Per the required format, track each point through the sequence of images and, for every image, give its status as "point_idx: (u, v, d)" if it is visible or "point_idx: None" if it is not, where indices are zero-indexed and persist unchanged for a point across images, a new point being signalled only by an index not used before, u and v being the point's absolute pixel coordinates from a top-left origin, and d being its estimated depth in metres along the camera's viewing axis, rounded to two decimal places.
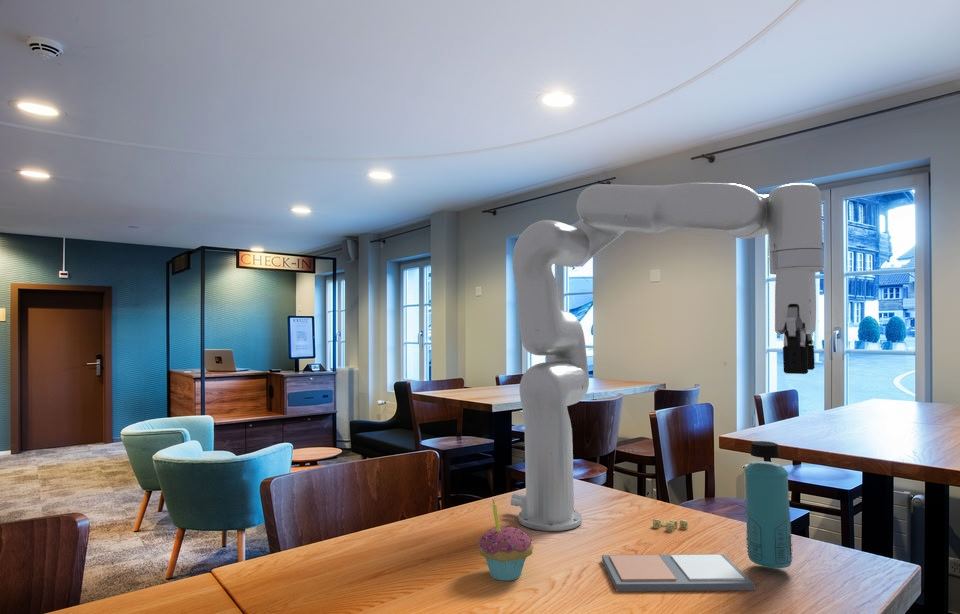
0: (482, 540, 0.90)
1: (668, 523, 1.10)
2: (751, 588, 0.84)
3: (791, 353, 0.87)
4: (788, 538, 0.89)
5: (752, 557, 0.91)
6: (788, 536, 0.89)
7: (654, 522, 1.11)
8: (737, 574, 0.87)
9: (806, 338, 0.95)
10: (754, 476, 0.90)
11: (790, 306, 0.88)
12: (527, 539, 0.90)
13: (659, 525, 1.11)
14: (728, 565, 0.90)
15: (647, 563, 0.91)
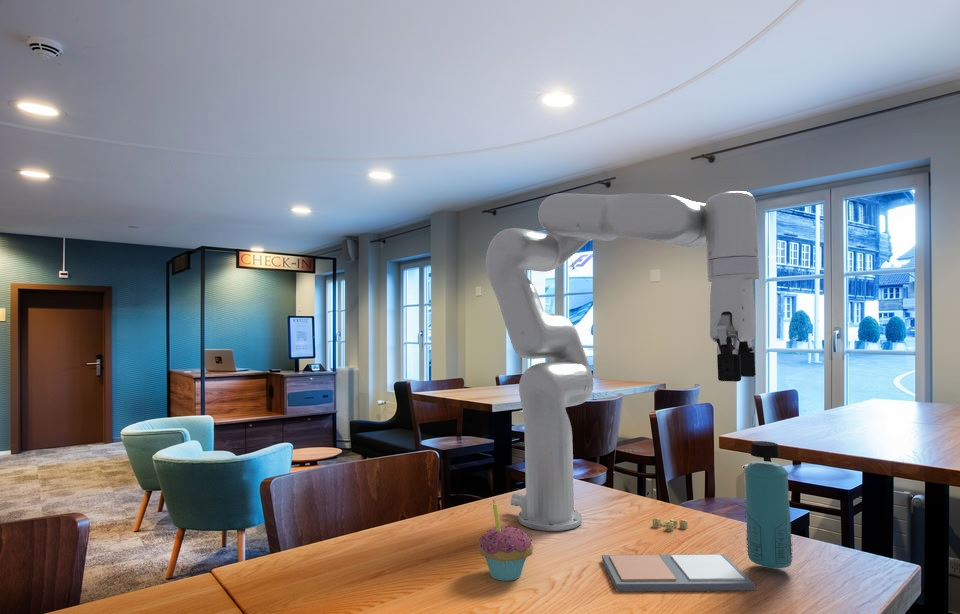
0: (482, 540, 0.90)
1: (667, 522, 1.10)
2: (751, 588, 0.84)
3: (724, 360, 0.87)
4: (788, 538, 0.89)
5: (752, 557, 0.91)
6: (788, 536, 0.89)
7: (654, 521, 1.12)
8: (737, 574, 0.87)
9: (747, 345, 0.96)
10: (754, 476, 0.90)
11: (723, 314, 0.88)
12: (527, 539, 0.90)
13: (659, 524, 1.12)
14: (728, 565, 0.90)
15: (647, 563, 0.91)
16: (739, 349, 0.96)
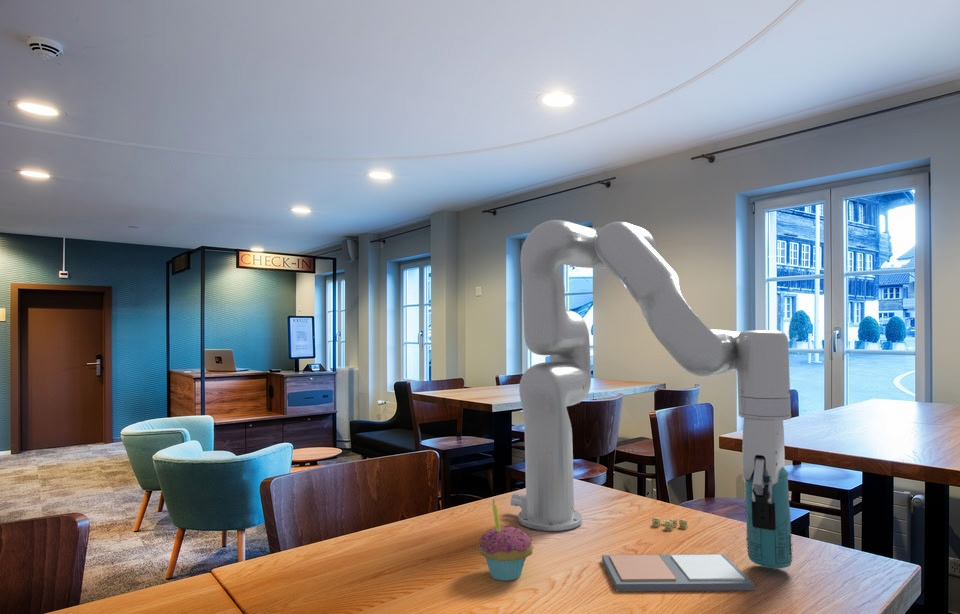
0: (482, 540, 0.90)
1: (667, 522, 1.10)
2: (751, 588, 0.84)
3: (759, 508, 0.88)
4: (788, 538, 0.89)
5: (752, 557, 0.91)
6: (788, 536, 0.89)
7: (653, 521, 1.12)
8: (737, 574, 0.87)
9: None
10: None
11: (757, 460, 0.88)
12: (527, 539, 0.90)
13: (658, 524, 1.12)
14: (728, 565, 0.90)
15: (647, 563, 0.91)
16: None
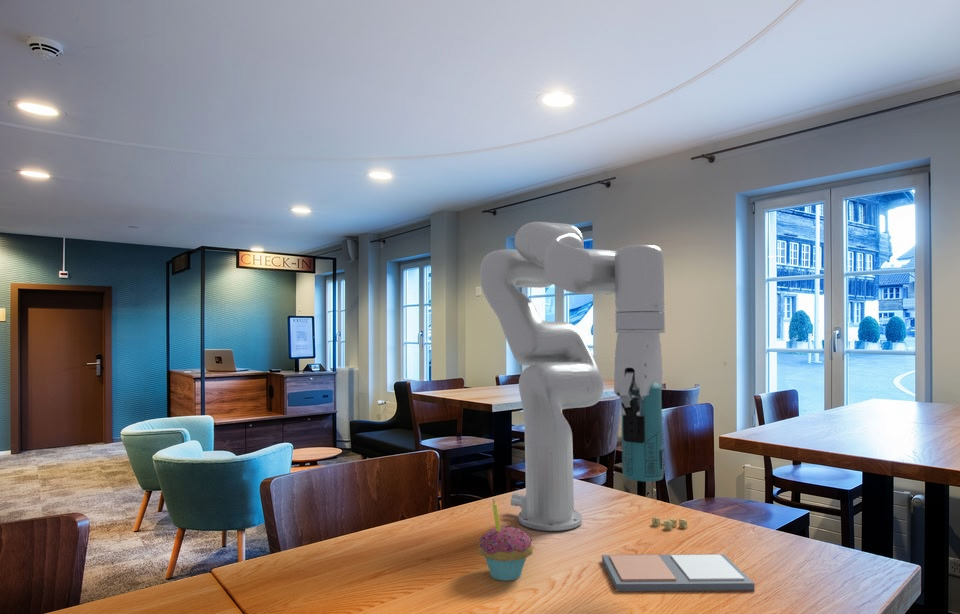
0: (482, 540, 0.90)
1: (666, 521, 1.11)
2: (751, 588, 0.84)
3: (629, 422, 0.88)
4: (659, 452, 0.89)
5: (625, 472, 0.90)
6: (659, 450, 0.89)
7: (653, 520, 1.13)
8: (737, 574, 0.87)
9: None
10: None
11: (627, 373, 0.88)
12: (527, 539, 0.90)
13: (658, 523, 1.12)
14: (728, 565, 0.90)
15: (647, 563, 0.91)
16: None
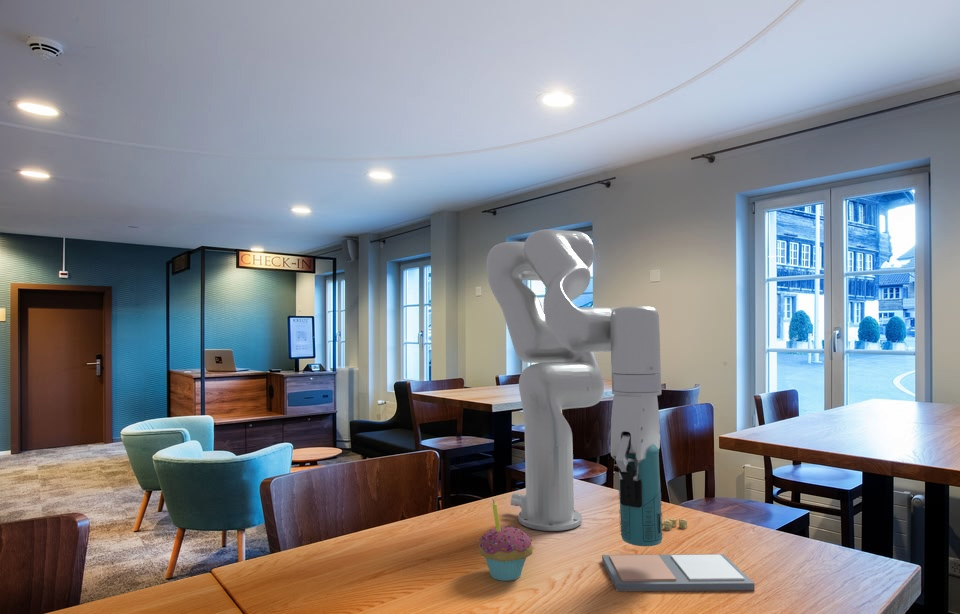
0: (482, 540, 0.90)
1: (666, 521, 1.11)
2: (751, 588, 0.84)
3: (626, 486, 0.87)
4: (657, 516, 0.88)
5: (623, 536, 0.90)
6: (657, 514, 0.88)
7: None
8: (737, 574, 0.87)
9: None
10: None
11: (623, 437, 0.87)
12: (527, 539, 0.90)
13: None
14: (728, 565, 0.90)
15: (647, 563, 0.91)
16: None
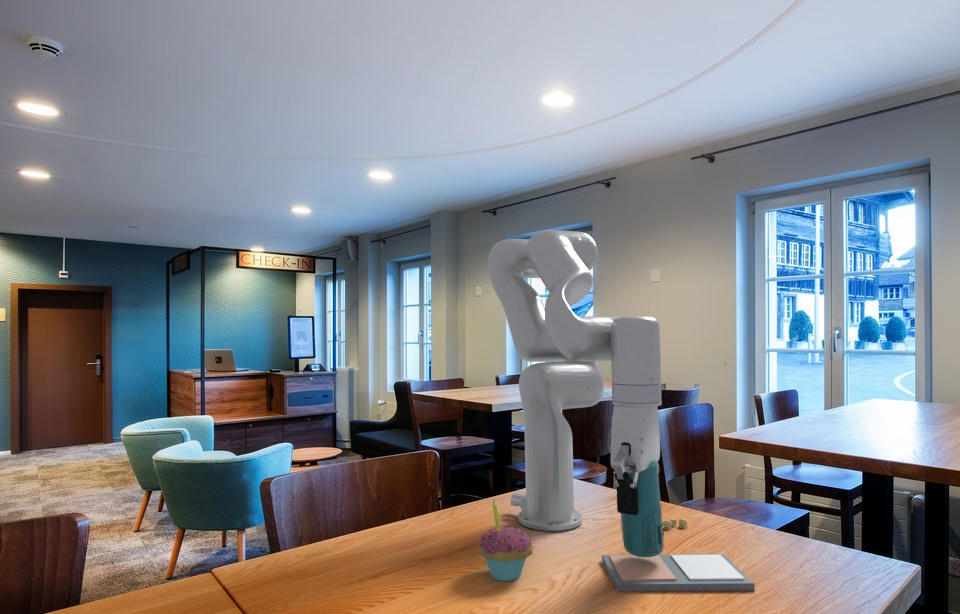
0: (482, 540, 0.90)
1: (665, 521, 1.11)
2: (751, 588, 0.84)
3: (623, 493, 0.86)
4: (657, 528, 0.90)
5: (625, 546, 0.92)
6: (657, 526, 0.90)
7: None
8: (737, 574, 0.87)
9: None
10: None
11: (623, 445, 0.87)
12: (527, 539, 0.90)
13: None
14: (728, 565, 0.90)
15: (647, 563, 0.91)
16: None
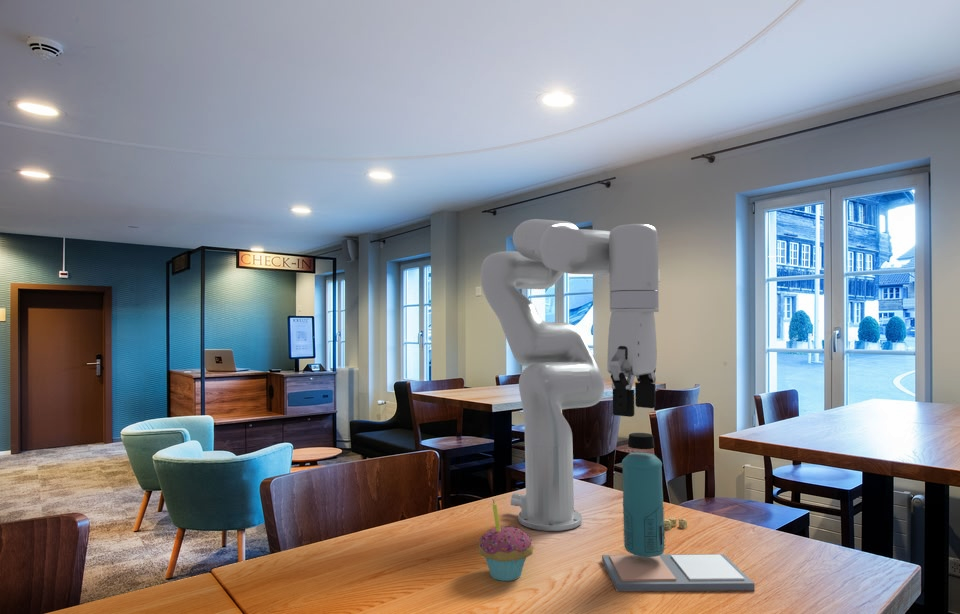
0: (482, 540, 0.90)
1: (665, 521, 1.11)
2: (751, 588, 0.84)
3: (619, 395, 0.87)
4: (659, 528, 0.91)
5: (626, 546, 0.93)
6: (659, 526, 0.91)
7: None
8: (737, 574, 0.87)
9: (649, 376, 0.96)
10: (627, 467, 0.92)
11: (619, 348, 0.88)
12: (527, 539, 0.90)
13: None
14: (728, 565, 0.90)
15: (647, 563, 0.91)
16: (641, 380, 0.96)
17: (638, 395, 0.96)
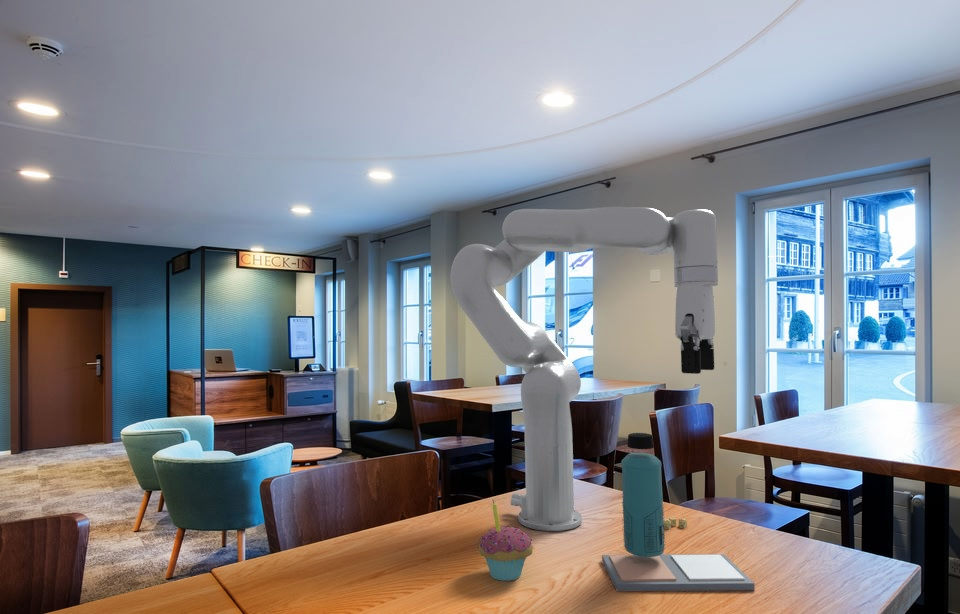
0: (482, 540, 0.90)
1: (665, 520, 1.11)
2: (751, 588, 0.84)
3: (687, 355, 1.01)
4: (658, 528, 0.91)
5: (626, 546, 0.93)
6: (659, 526, 0.91)
7: None
8: (737, 574, 0.87)
9: (708, 342, 1.10)
10: (627, 467, 0.92)
11: (687, 315, 1.02)
12: (527, 539, 0.90)
13: None
14: (728, 565, 0.90)
15: (647, 563, 0.91)
16: (701, 346, 1.10)
17: None
